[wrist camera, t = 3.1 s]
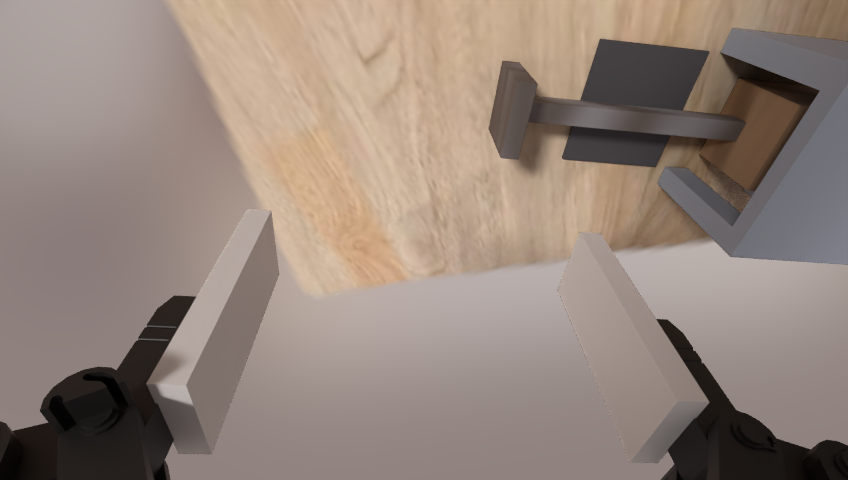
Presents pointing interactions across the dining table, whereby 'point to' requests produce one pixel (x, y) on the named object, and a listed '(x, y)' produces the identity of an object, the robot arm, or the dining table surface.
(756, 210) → the tunnel
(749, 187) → the push rod
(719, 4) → the dining table surface
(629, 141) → the mat
